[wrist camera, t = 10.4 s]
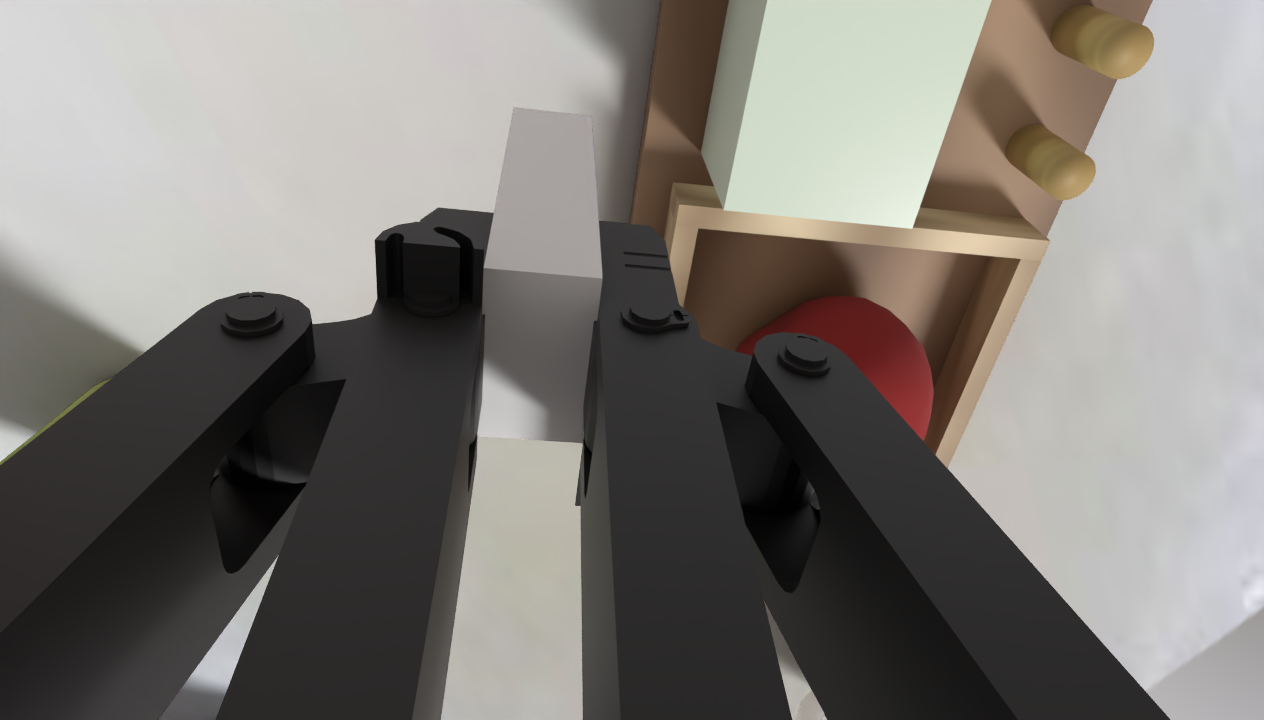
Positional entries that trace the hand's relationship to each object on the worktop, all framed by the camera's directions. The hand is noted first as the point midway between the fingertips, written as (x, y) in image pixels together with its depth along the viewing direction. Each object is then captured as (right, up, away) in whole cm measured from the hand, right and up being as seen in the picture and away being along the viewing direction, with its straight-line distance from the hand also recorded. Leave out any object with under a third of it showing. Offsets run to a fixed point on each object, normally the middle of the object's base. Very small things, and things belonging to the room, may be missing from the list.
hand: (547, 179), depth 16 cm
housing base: (+10, +1, +16) cm, 19 cm away
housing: (+8, +6, +11) cm, 15 cm away
